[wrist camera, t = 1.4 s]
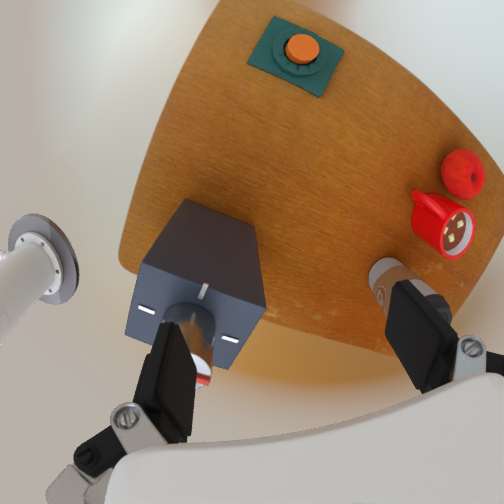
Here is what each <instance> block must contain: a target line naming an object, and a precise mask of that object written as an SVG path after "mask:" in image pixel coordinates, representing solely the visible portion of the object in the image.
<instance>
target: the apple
mask: <svg viewBox="0 0 504 504" xmlns="http://www.w3.org/2000/svg"><path fill="white" fill-rule="evenodd" d="M441 176H442V180H443V183H444V185H445V187H446V188H447V190H448V191H449V192H450V193H451V194H452V195H453V196H455V197H457V198H459V199H464V200H467V199H471V198H473V197H475V196H476V195H478V193H479V192H480V191H481V189H482V187H483V185H484V182H485V172H484V168H483V165H482V162H481V161H480V159H479V157H478V156H477V155H476V154H474V153H473V152H471V151H468V150H464V149H456V150H454V151H453V152H451V153H449V154H448V155H447V156H446V158H445V159H444V160H443V163H442V166H441Z"/></svg>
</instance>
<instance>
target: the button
mask: <svg viewBox="0 0 504 504" xmlns="http://www.w3.org/2000/svg"><path fill="white" fill-rule="evenodd" d="M285 52H286V55H287V57H288V58H289V59H290V60H291V61H293V62H294V63H297V64H307V63H309V62H311V61H312V60H313V59H314V58H316V57H317V55H318V53H319V45H318V43H317V42H316V40H315V39H314V38H312V37H311V36H309V35H305V34H298V35H295V36H293V37H292V38H291V39H290V40H289V42H288V43H287V45H286V48H285Z"/></svg>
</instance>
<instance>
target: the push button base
mask: <svg viewBox="0 0 504 504" xmlns="http://www.w3.org/2000/svg"><path fill="white" fill-rule="evenodd" d="M298 34H305V35H309V36H311V37H312V38H314V39H315V40H316V42H317V43H318V45H319V53H318V55H317V57H316V58H314V59H313V60H312V61H311V62H309V63H307V64H297V63H294V62H293V61H291V60H290V59H289V58H288V57H287V55H286V52H285V48H286V45H287V43H288V42H289V40H290V39H291V38H292V37H293V36H295V35H298ZM343 53H344V50H343V49H341V48H339V47H337V46H336V45H334V44H332V43H330V42H328V41H327V40H325V39H323V38H321V37H319V36H318V35H317V34H315V33H313V32H311V31H309V30H307V29H303V28H301V27H299V26H296V25H294V24H292V23H290V22H288V21H285V20H283V19H280V18H278V17H276V16H274V17H273V18H272V20H271V22H270V23H269V25H268V27H267V28H266V30H265V32H264V33H263V35H262V37H261V39H260V40H259V42H258V44H257V46H256V47H255V49H254V51H253V53H252V55H251V56H250V58H249V60H248V62H247V64H249V65H251V66H254V67H256V68H258V69H261V70H263V71H265V72H268V73H270V74H272V75H274V76H277V77H279V78H281V79H283V80H285V81H287V82H289V83H292V84H294V85H296V86H298V87H300V88H302V89H304V90H305V91H307V92H309V93H311V94H313V95H315V96H317V97H319V98H320V97H321V96H322V94H323V92H324V90H325V88H326V86H327V84H328V82H329V80H330V78H331V76H332V74H333V72H334V70H335V68H336V66H337V64H338V62H339V60H340V58H341V56H342V54H343Z"/></svg>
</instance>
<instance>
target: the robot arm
mask: <svg viewBox="0 0 504 504" xmlns="http://www.w3.org/2000/svg"><path fill="white" fill-rule="evenodd" d="M0 260H1V262H0V347H1V346H2V344H3V343H4V341H5V340H6V339H7V337H8V336H9V335H10V333H11V332H12V331H13V329H14V328H15V327H16V326H17V324H18V323H19V322H20V321H21V319H22V318H23V317H24V316H25V315H26V313H27V312H28V311H29V310H30V309H31V307H32V306H33V305H34V304H35V303H36V302H37V300H38V299H39V298H40V297H41V296H42V295H43V294H45V295H51V294H54V293H55V292H57V290H58V289H59V288H60V287H61V285H62V282H63V267H62V263H61V260H60V258H59V255H58V254H57V252H56V250H55V248H54V247H53V246H52V244H51V243H50V242H49V241H48V240H47V239H46V238H45V237H43V236H42V235H40V234H38V233H36V232H26V233H24V234H23V235H21V236H20V237H19V238H18V240H17V241H16V244H15V249H14V250H13V251H12V252H8V253H7V252H5V251H1V250H0ZM385 336H386V338H387V340H388V341H389V343H390V345H391V346H392V348H393V350H394V351H395V353H396V355H397V356H398V358H399V360H400V362H401V363H402V365H403V367H404V368H405V370H406V372H407V374H408V375H409V377H410V379H411V381H412V383H413V384H414V386H415V388H416V389H417V390H418V389H419V390H420V391H421V393H422V395H419V396H417V397H414V398H412V399H410V400H407V401H404V402H402V403H399V404H397V405H394V406H391V407H388V408H385V409H383V410H380V411H377V412H374V413H371V414H367V415H364V416H361V417H357V418H354V419H350V420H347V421H343V422H339V423H336V424H331V425H327V426H323V427H319V428H314V429H310V430H305V431H300V432H294V433H289V434H282V435H276V436H270V437H262V438H254V439H244V440H233V441H221V442H204V443H186V442H187V436H190V435H191V431H192V420H193V409H194V399H195V389H196V380H197V367H196V364H195V362H194V360H193V358H192V355H191V353H190V351H189V348H188V346H187V344H186V341H185V339H184V336H183V334H182V331H181V329H180V327H179V325H178V324H177V325H175V323H174V322H164V323H160V324H159V327H158V330H157V333H156V336H155V340H154V343H153V346H152V349H151V353H150V354H147V355H146V357H145V360H144V364H143V367H142V370H141V374H140V377H139V381H138V384H137V388H136V391H135V395H134V399H133V402H132V403H131V402H127V403H123V404H121V405H119V406H117V407H116V408H115V409H114V411H113V412H112V414H111V416H110V423H111V425H110V426H109V427H107V428H106V429H104V430H103V431H101V432H100V433H98V434H97V435H95V436H94V437H92V438H91V439H89V440H87V441H86V442H84V443H83V444H81V445H80V446H79V447H77V449H76V451H75V453H74V463H73V465H70V464H69V465H68V466H67V467H66V468H65V469H64V470H63V471H62V472H61V474H60V475H59V476H58V477H57V478H56V479H55V480H54V482H53V483H52V484H51V485H50V486H49V487H48V489H47V490H46V495H45V496H46V500H47V502H48V504H504V355H500V354H496V353H492V352H488V351H486V346H485V344H484V342H483V341H482V340H481V339H480V338H478V337H476V336H473V335H466V336H463V337H461V338H460V339H459V338H458V337H457V333H456V332H455V331H454V330H453V328H452V327H451V326H450V325H449V324H448V322H447V321H446V320H445V319H444V318H443V317H442V315H441V314H440V313H439V312H438V311H437V310H436V309H435V308H434V306H433V305H432V304H431V303H430V302H429V301H428V300H427V299H426V298H425V296H424V295H423V294H422V293H421V292H420V291H419V290H418V289H417V288H416V287H415V286H414V285H413V284H412V283H411V282H410V281H409V280H408V279H405V280H401V281H397V282H396V283H395V285H394V286H393V287H392V290H391V298H390V304H389V310H388V316H387V322H386V328H385ZM178 443H180V444H178Z"/></svg>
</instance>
